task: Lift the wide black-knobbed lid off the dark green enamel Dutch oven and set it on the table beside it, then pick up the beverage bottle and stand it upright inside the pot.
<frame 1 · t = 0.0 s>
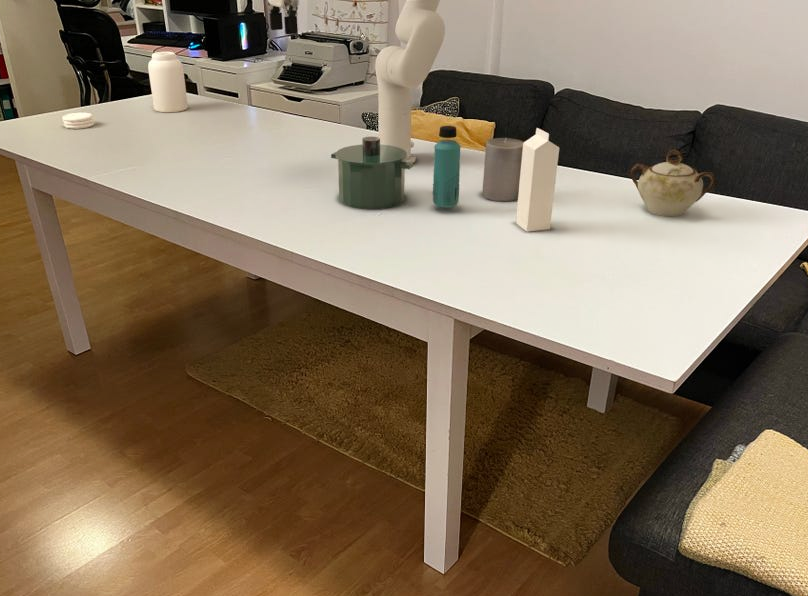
hand: (284, 31, 190), 37 cm above the table, tool pointing down, fingers open, 9 cm apart
milk: (532, 227, 175), on the table
sugar bowl: (664, 211, 184), on the table
white flat round stack: (79, 126, 260), on the table
lid: (371, 155, 187), point 11 cm above the table, touching pot
pot: (371, 198, 192), on the table
beverage bottle: (445, 209, 185), on the table
white jar: (171, 109, 283), on the table
pillar candle: (500, 196, 194), on the table
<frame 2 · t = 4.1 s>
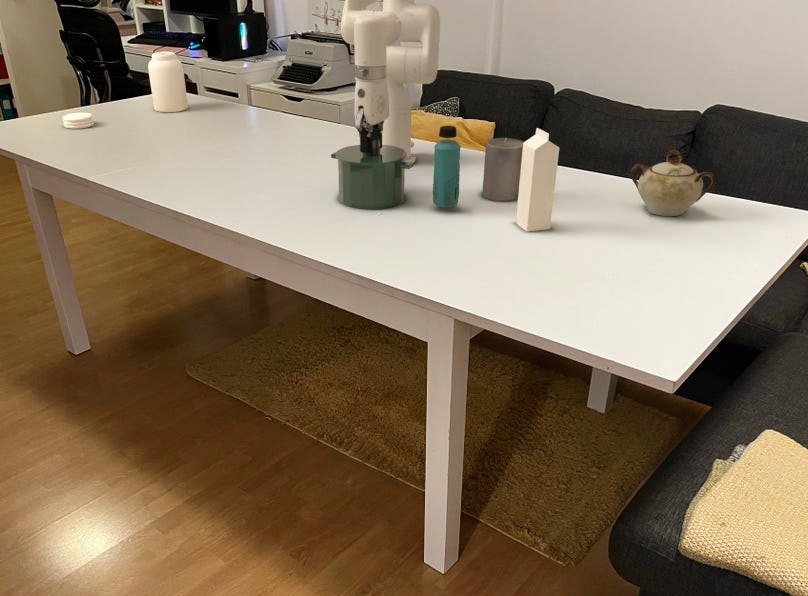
hand: (371, 149, 186), 13 cm above the table, tool pointing down, fingers closed on lid, 4 cm apart
lid: (371, 155, 187), point 11 cm above the table, touching gripper, pot
everything else where it was.
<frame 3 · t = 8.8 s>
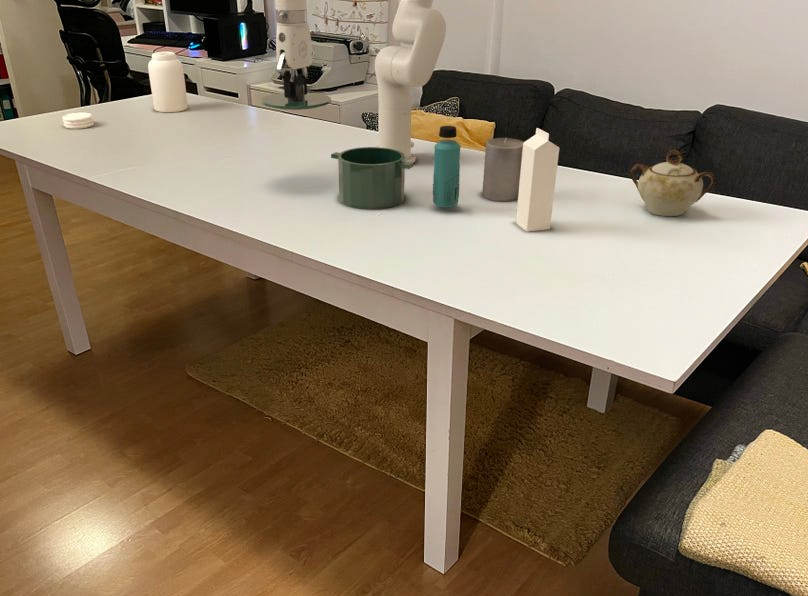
hand: (295, 95, 191), 23 cm above the table, tool pointing down, fingers closed on lid, 4 cm apart
lid: (296, 101, 191), point 22 cm above the table, touching gripper
everything else where it was.
when the fingers open (2 cm above the table, at t = 13.5 s): lid stays where it is, point 1 cm above the table.
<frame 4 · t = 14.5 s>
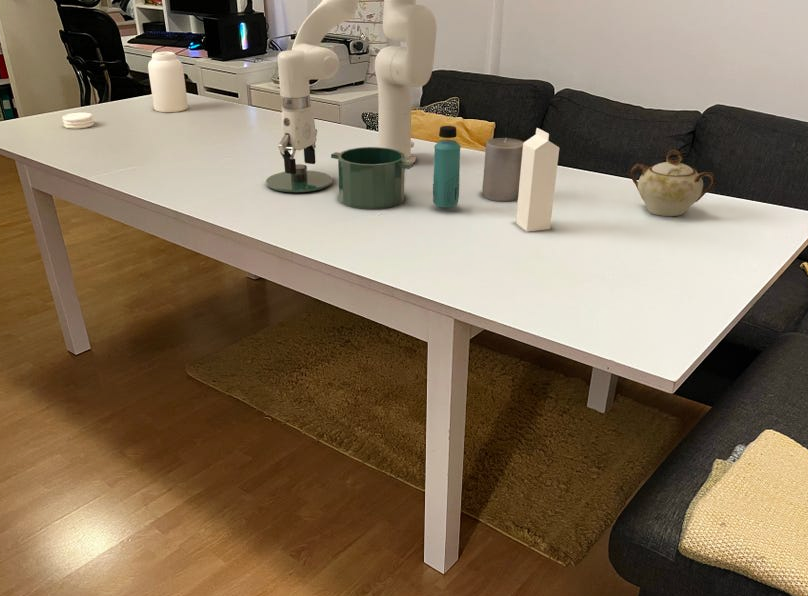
hand: (300, 168, 201), 4 cm above the table, tool pointing down, fingers open, 9 cm apart
lid: (299, 181, 202), point 1 cm above the table
everything else where it was.
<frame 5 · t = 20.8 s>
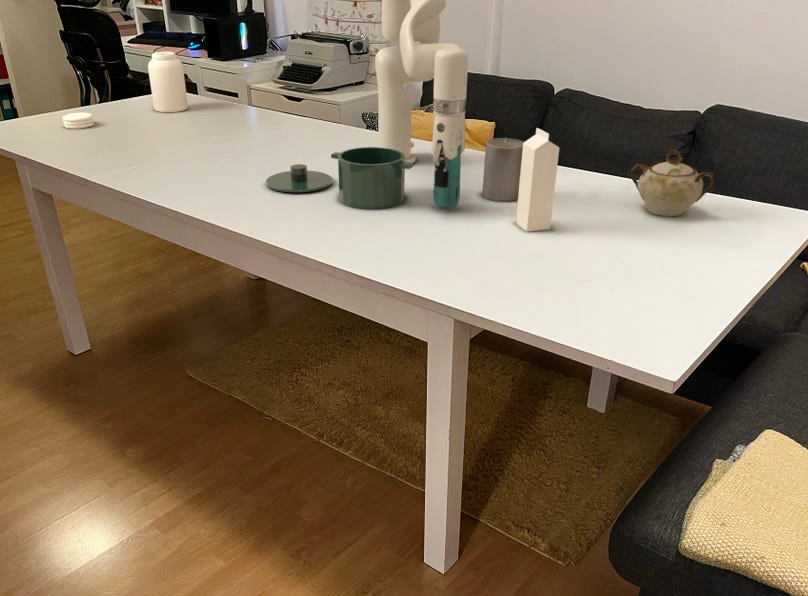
hand: (446, 182, 182), 7 cm above the table, tool pointing down, fingers closed on beverage bottle, 5 cm apart
beverage bottle: (445, 209, 186), on the table, touching gripper
everything else where it was.
when the fingers open (8 cm above the table, at t = 28.7 s): beverage bottle stays where it is, resting on pot.
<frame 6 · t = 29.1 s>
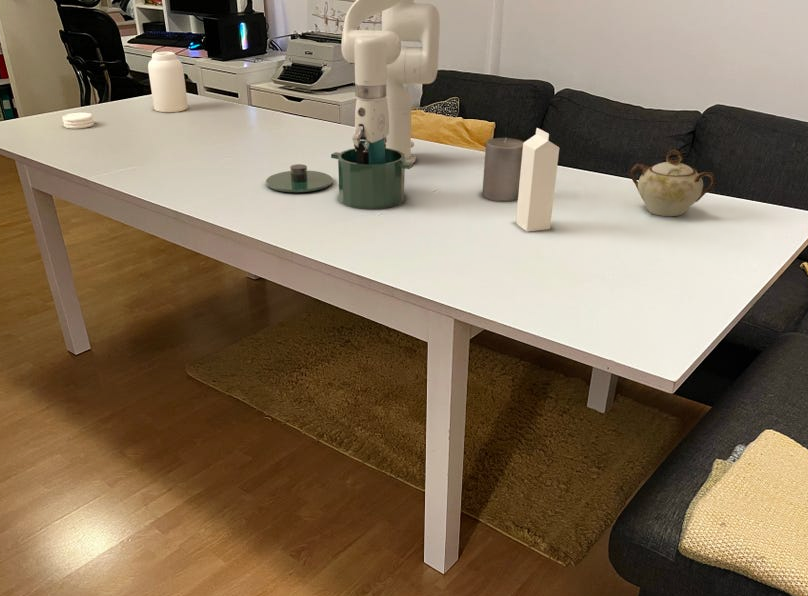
hand: (371, 163, 188), 9 cm above the table, tool pointing down, fingers open, 8 cm apart
beverage bottle: (375, 193, 194), point 1 cm above the table, touching gripper, pot
everything else where it was.
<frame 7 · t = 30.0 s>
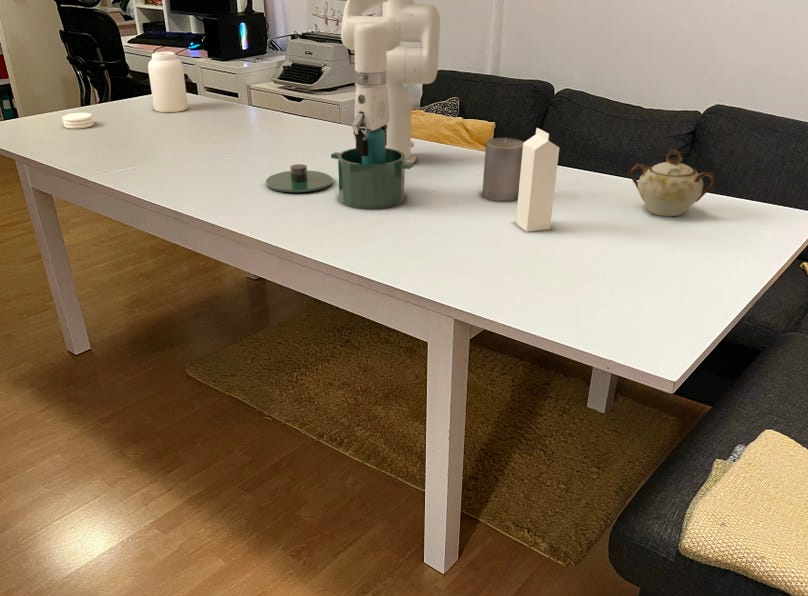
hand: (371, 150, 186), 12 cm above the table, tool pointing down, fingers open, 9 cm apart
nothing on the table moved.
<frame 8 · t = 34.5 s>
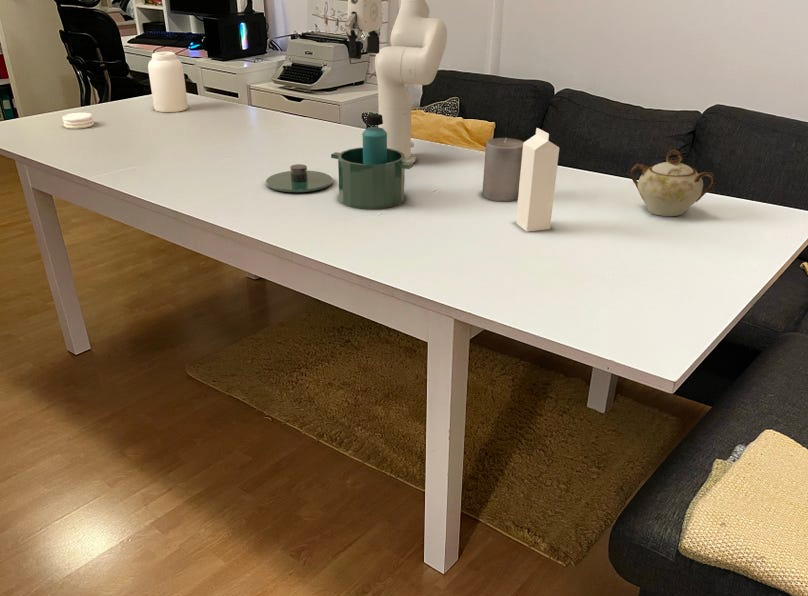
hand: (364, 55, 188), 32 cm above the table, tool pointing down, fingers open, 9 cm apart
beverage bottle: (375, 194, 194), resting on pot
everything else where it was.
at the end: lid inside the target area (0.1 cm from its centre), point 0.6 cm above the table; beverage bottle inside the target area in the pot (2.4 cm from its centre), point 0.3 cm above the pot's base; beverage bottle tilted 0° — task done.
